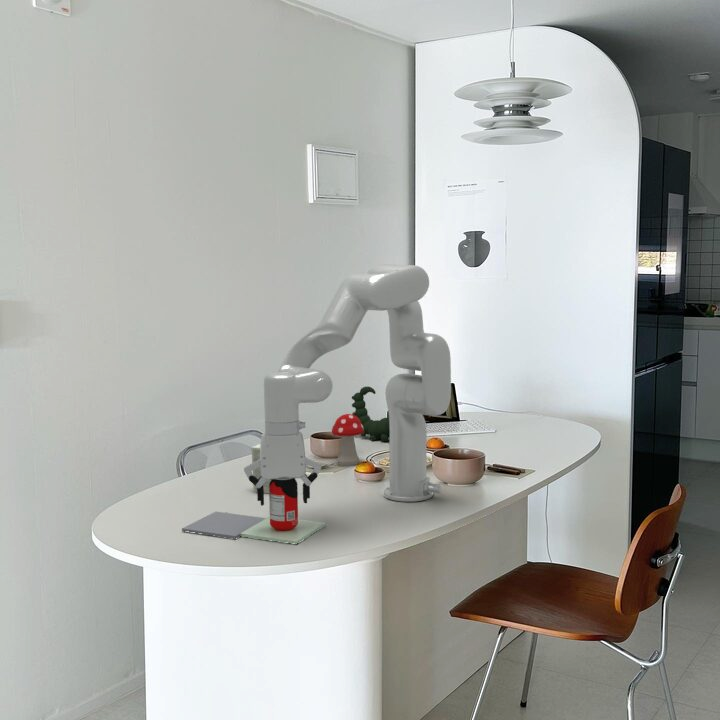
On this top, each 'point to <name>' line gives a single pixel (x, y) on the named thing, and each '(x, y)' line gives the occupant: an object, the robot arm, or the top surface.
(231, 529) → the grey pad
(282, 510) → the beverage can
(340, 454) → the decorative mushroom
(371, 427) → the toy figurine
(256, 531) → the green pad
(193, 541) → the top surface
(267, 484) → the skincare box
